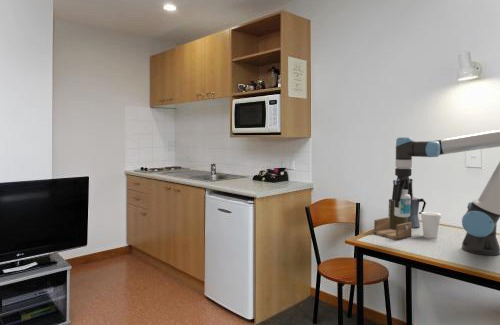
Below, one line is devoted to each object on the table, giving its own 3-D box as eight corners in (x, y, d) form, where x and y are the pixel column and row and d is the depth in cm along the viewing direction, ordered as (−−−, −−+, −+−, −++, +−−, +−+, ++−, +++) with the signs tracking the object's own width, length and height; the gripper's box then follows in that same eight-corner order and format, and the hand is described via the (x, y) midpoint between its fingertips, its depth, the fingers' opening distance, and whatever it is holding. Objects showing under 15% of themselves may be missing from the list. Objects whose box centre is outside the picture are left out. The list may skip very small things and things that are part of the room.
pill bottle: (390, 215, 174) (391, 189, 173) (401, 214, 177) (402, 188, 176) (402, 218, 167) (403, 191, 166) (413, 216, 170) (414, 190, 169)
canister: (404, 226, 208) (405, 194, 206) (410, 231, 197) (411, 197, 196) (386, 226, 209) (386, 194, 208) (391, 230, 198) (392, 197, 197)
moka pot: (404, 223, 217) (404, 192, 216) (429, 227, 205) (430, 195, 204) (396, 225, 211) (397, 193, 210) (422, 230, 199) (423, 196, 198)
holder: (412, 237, 185) (413, 222, 184) (399, 240, 178) (400, 225, 178) (385, 230, 199) (386, 217, 198) (372, 233, 192) (373, 219, 192)
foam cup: (426, 239, 181) (426, 215, 180) (417, 234, 190) (418, 211, 190) (443, 239, 181) (444, 215, 180) (434, 234, 190) (434, 211, 190)
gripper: (407, 166, 179) (406, 209, 181) (384, 168, 168) (383, 214, 169) (421, 167, 173) (419, 211, 175) (398, 169, 161) (397, 216, 163)
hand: (402, 212), depth 172 cm, fingers closed on pill bottle, 7 cm apart
